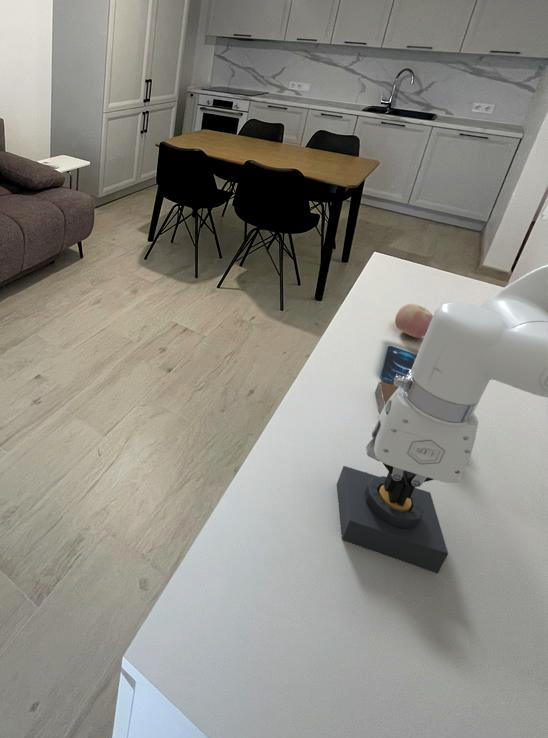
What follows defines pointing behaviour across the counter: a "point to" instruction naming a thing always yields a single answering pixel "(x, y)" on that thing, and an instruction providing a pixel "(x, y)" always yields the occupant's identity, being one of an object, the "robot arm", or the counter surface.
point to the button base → (389, 522)
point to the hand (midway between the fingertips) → (394, 495)
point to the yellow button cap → (385, 498)
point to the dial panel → (384, 394)
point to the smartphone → (396, 364)
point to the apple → (413, 320)
